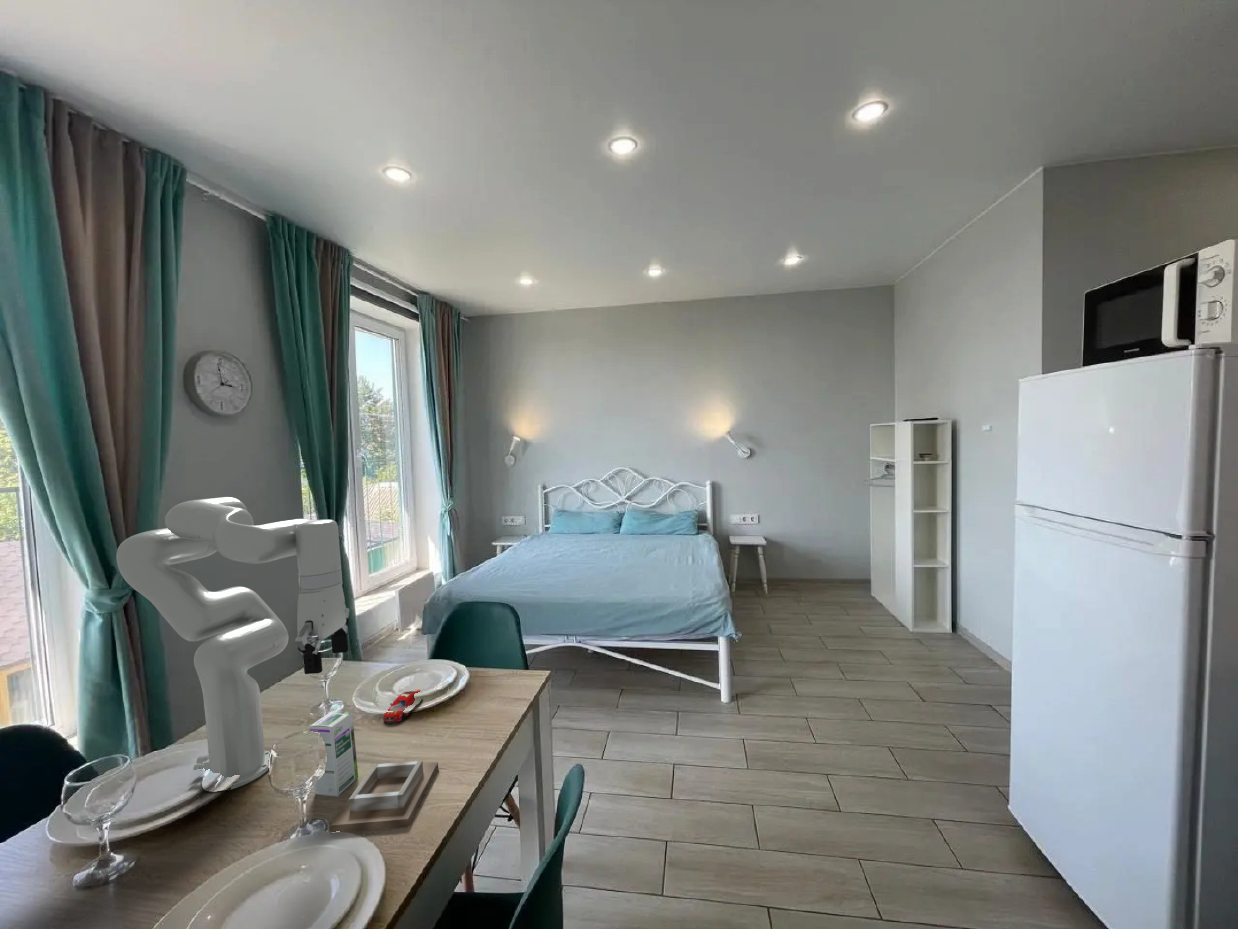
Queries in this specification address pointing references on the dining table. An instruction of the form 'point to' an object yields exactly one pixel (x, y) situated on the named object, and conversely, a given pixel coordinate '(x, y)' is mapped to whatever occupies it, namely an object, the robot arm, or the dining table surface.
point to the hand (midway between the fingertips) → (327, 662)
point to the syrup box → (337, 752)
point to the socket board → (386, 797)
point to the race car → (400, 707)
